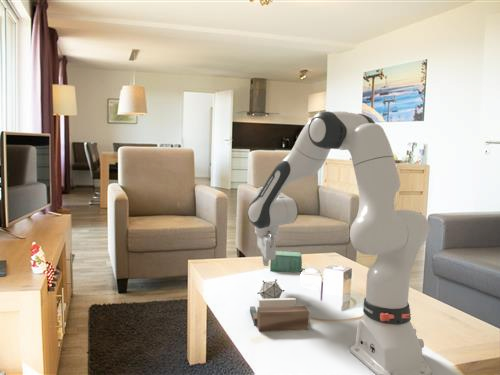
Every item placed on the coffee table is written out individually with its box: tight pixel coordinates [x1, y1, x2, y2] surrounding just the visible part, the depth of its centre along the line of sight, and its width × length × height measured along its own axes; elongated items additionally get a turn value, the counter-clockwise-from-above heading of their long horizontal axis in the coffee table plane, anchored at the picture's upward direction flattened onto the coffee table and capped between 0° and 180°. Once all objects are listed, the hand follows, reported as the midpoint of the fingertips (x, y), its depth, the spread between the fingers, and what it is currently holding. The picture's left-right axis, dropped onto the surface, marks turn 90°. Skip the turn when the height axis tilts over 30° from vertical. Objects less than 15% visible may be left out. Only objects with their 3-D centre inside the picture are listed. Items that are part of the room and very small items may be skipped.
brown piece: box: [249, 304, 310, 333], centre depth 146 cm, size 15×17×6 cm
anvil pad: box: [258, 297, 297, 307], centre depth 150 cm, size 2×12×5 cm, turn 98°
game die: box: [257, 279, 286, 299], centre depth 161 cm, size 9×8×10 cm
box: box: [269, 250, 303, 273], centre depth 202 cm, size 7×14×8 cm, turn 85°
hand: (265, 264), depth 172 cm, fingers closed
